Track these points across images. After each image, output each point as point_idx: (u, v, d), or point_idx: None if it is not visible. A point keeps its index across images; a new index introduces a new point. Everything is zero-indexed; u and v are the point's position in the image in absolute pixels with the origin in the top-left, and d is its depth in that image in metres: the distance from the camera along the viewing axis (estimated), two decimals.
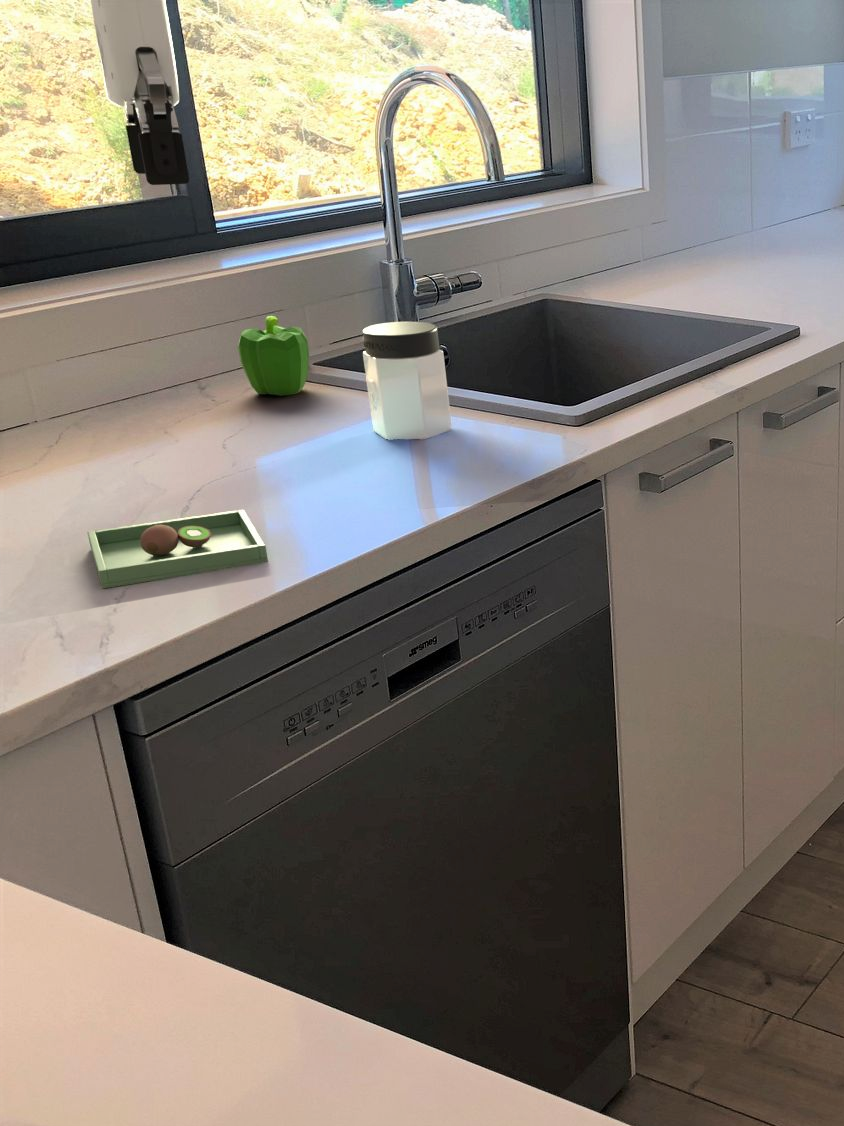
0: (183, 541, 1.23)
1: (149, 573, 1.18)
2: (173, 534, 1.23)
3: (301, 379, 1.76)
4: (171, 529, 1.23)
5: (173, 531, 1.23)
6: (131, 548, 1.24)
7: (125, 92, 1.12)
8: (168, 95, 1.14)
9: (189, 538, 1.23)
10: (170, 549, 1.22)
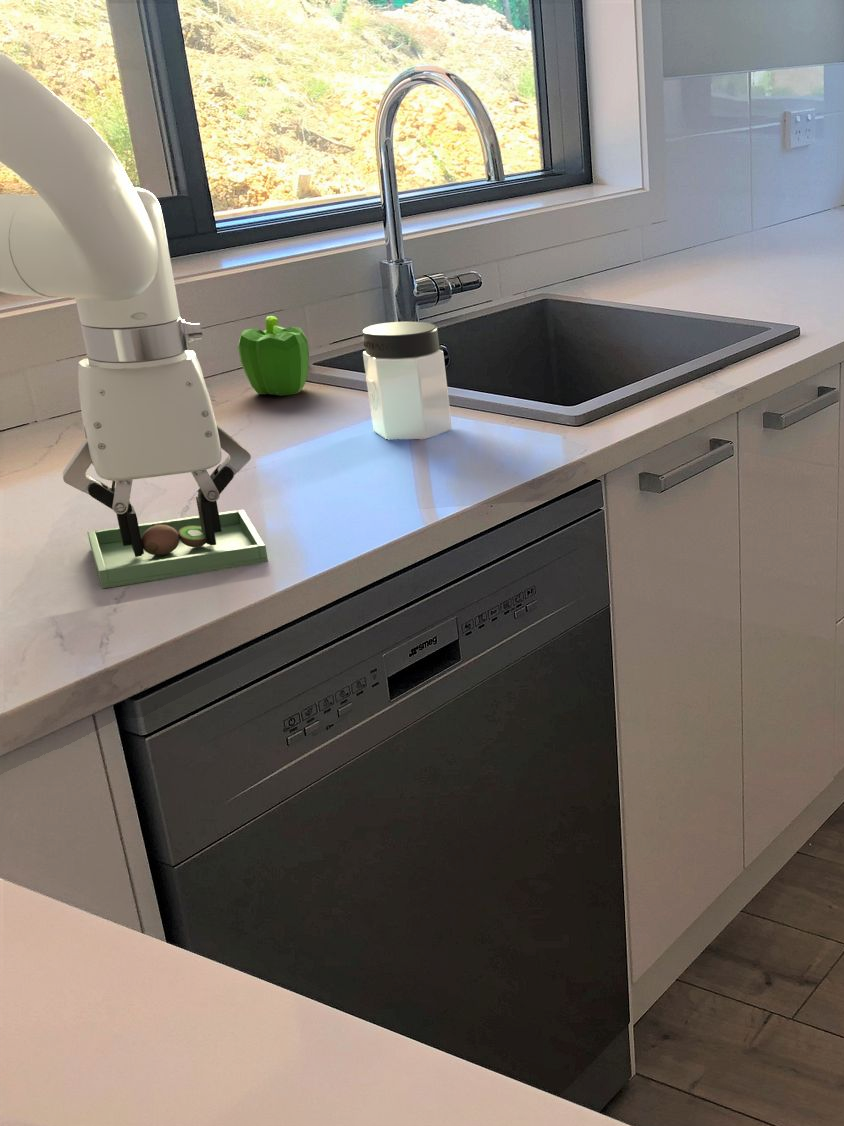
0: (184, 541, 1.23)
1: (149, 573, 1.18)
2: (174, 535, 1.23)
3: (301, 379, 1.76)
4: (172, 529, 1.23)
5: (174, 531, 1.23)
6: (131, 548, 1.24)
7: None
8: None
9: (190, 538, 1.23)
10: (171, 549, 1.22)
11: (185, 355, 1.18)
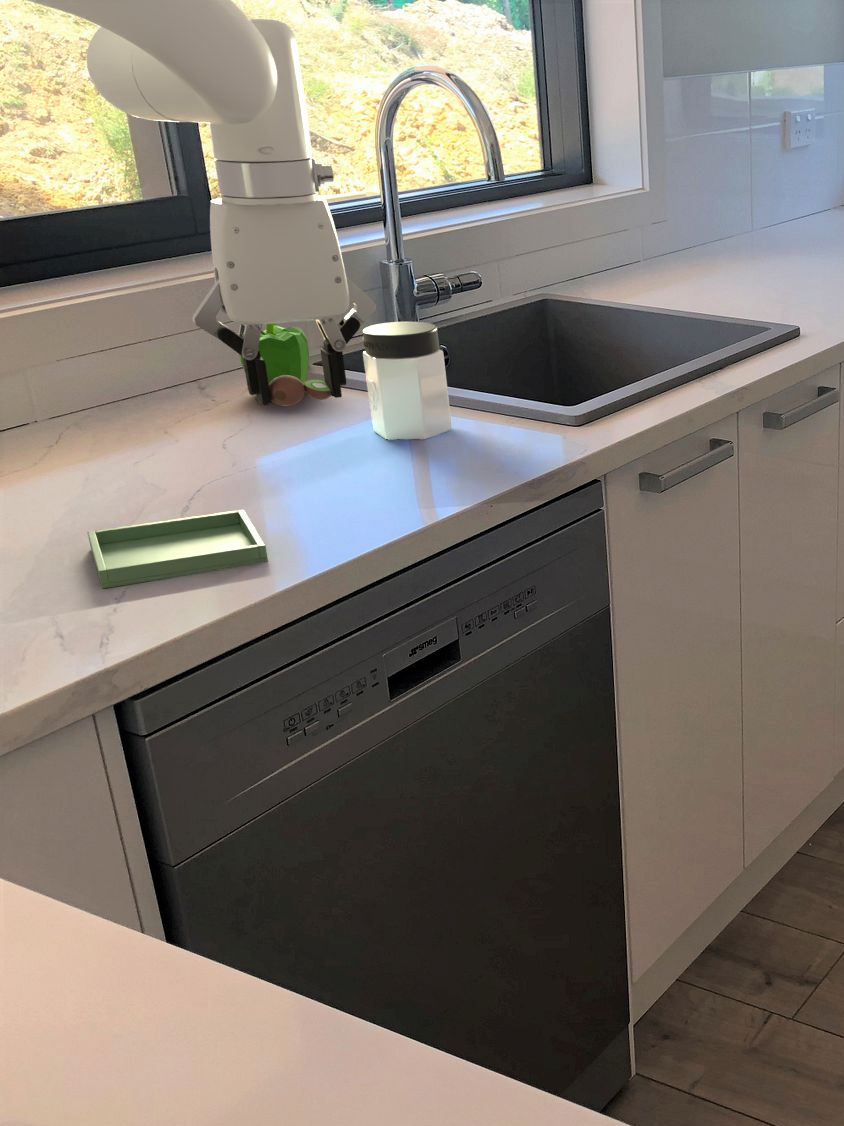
0: (309, 392, 1.22)
1: (149, 573, 1.18)
2: (300, 385, 1.21)
3: (301, 379, 1.76)
4: (298, 379, 1.21)
5: (300, 381, 1.21)
6: (131, 548, 1.24)
7: None
8: None
9: (316, 389, 1.22)
10: (297, 399, 1.21)
11: (317, 196, 1.16)
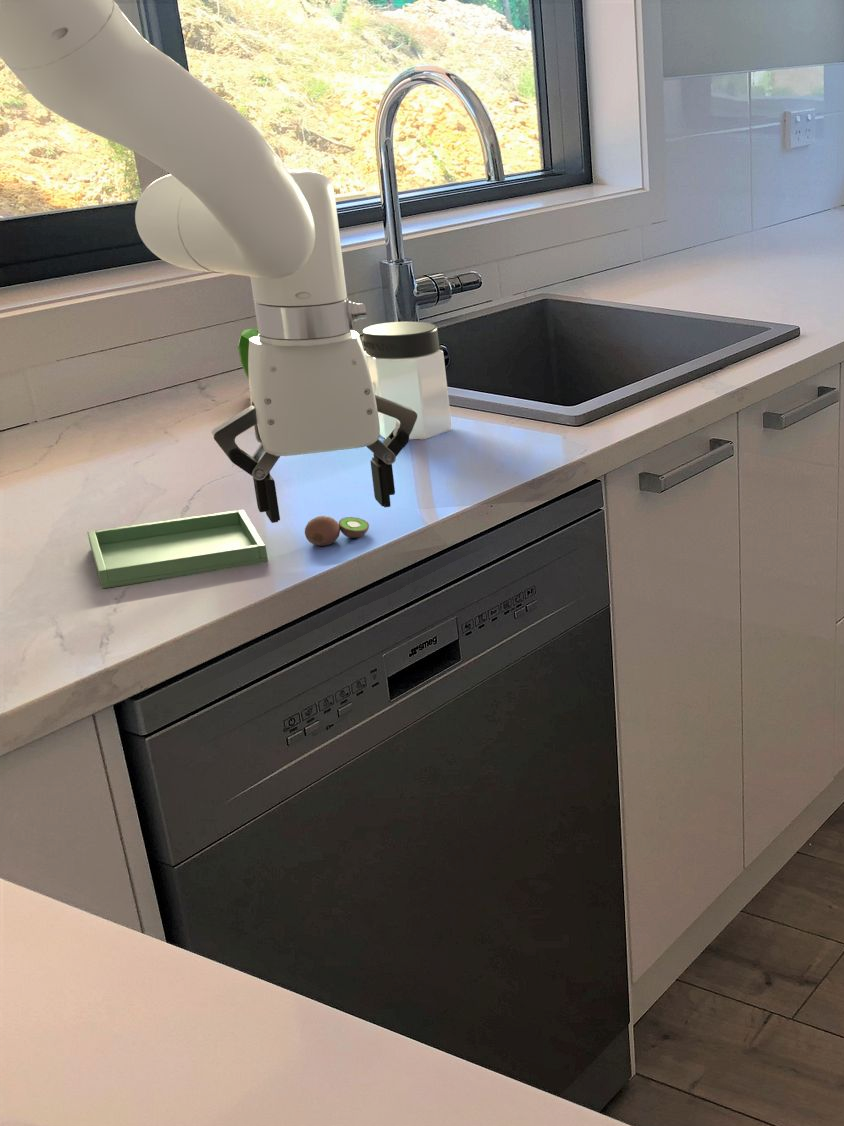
0: (345, 532, 1.27)
1: (149, 573, 1.18)
2: (336, 526, 1.27)
3: None
4: (334, 520, 1.27)
5: (335, 522, 1.27)
6: (131, 548, 1.24)
7: None
8: None
9: (351, 529, 1.27)
10: (333, 540, 1.26)
11: (350, 334, 1.21)
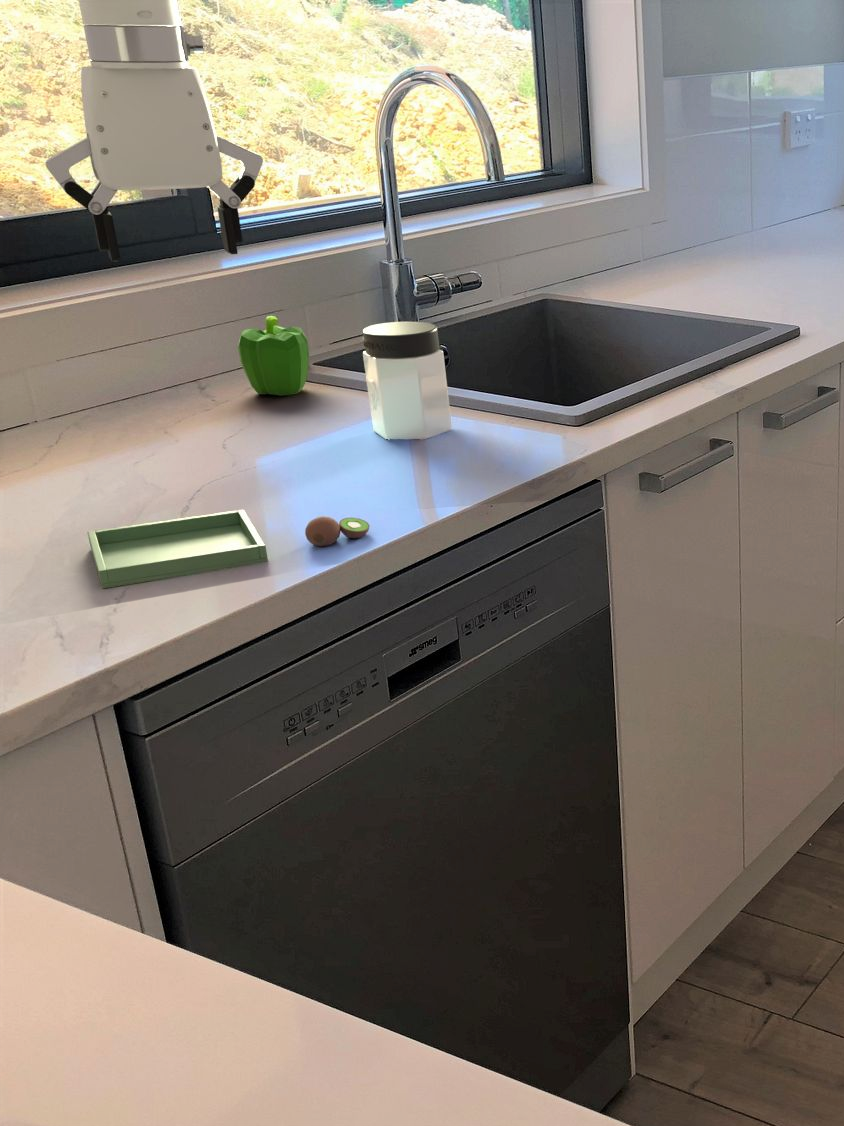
0: (345, 532, 1.27)
1: (149, 573, 1.18)
2: (337, 526, 1.27)
3: (301, 379, 1.76)
4: (334, 521, 1.27)
5: (336, 522, 1.27)
6: (131, 548, 1.24)
7: None
8: None
9: (351, 530, 1.27)
10: (334, 540, 1.26)
11: (186, 65, 1.19)
